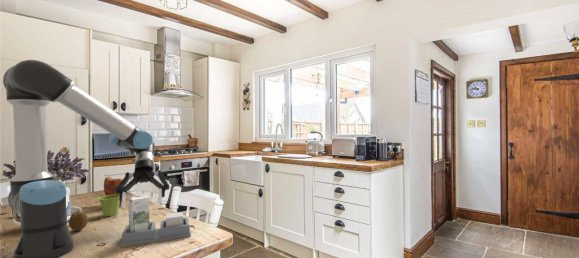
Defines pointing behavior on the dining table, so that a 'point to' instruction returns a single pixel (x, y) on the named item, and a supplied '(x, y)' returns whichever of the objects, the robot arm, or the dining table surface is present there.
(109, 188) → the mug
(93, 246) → the dining table surface
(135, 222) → the syrup box
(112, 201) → the plant pot
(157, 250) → the dining table surface
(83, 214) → the fruit
